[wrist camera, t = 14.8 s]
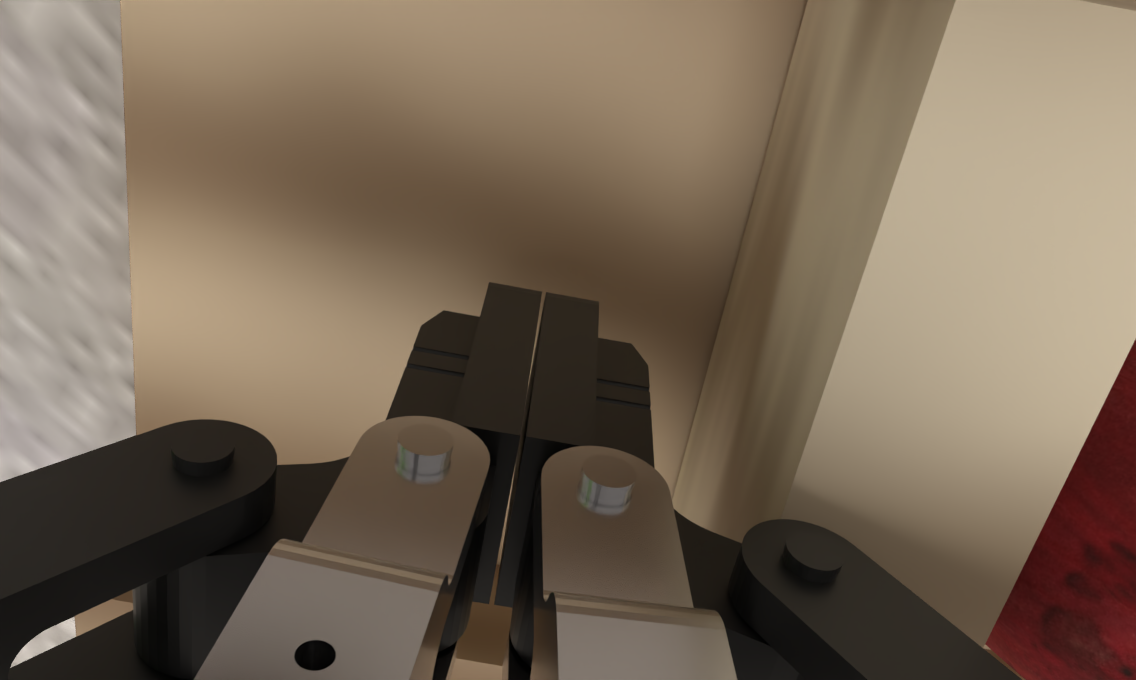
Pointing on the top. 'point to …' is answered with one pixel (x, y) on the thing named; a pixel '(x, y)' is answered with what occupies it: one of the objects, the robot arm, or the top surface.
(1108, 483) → the onion
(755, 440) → the jaw
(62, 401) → the top surface
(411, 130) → the vise base
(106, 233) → the top surface
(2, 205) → the top surface
